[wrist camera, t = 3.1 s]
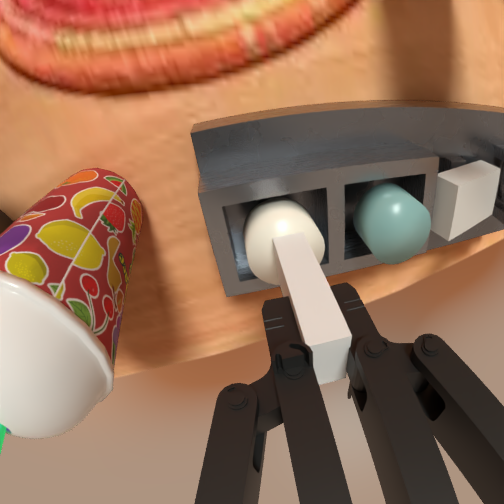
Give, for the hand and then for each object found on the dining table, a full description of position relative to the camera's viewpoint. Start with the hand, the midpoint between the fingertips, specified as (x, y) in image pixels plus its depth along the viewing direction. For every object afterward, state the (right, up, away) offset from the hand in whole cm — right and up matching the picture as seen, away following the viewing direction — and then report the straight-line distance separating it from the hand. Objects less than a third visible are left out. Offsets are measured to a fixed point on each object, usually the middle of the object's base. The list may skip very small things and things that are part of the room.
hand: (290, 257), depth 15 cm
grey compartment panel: (+9, +6, +6) cm, 13 cm away
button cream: (0, +2, +2) cm, 3 cm away
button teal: (+6, +3, +2) cm, 7 cm away
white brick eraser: (+14, +4, +2) cm, 14 cm away
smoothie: (-13, +4, +5) cm, 14 cm away
